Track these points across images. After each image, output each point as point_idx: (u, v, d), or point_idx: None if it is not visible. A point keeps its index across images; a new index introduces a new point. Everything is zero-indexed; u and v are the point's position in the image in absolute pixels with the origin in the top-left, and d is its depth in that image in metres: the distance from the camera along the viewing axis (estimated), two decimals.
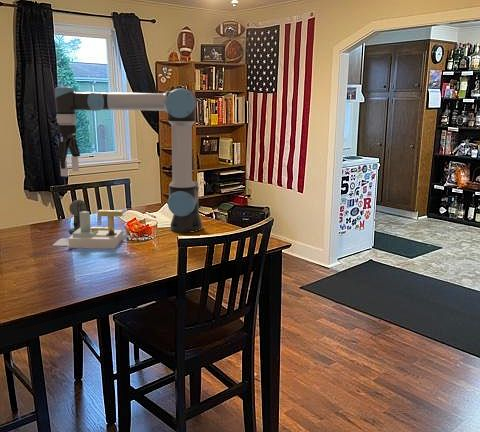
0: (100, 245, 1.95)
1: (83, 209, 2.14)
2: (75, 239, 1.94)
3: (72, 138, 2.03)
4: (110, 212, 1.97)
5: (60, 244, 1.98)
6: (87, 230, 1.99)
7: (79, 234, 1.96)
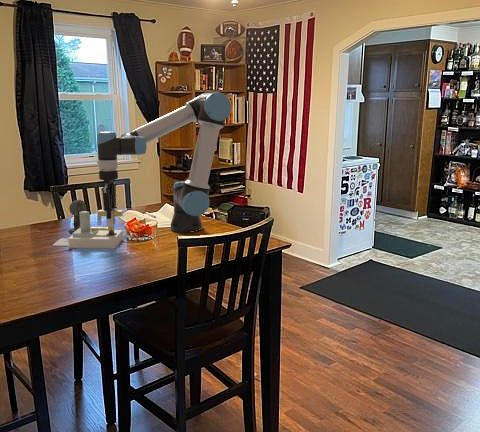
0: (100, 245, 1.95)
1: (83, 209, 2.14)
2: (75, 239, 1.94)
3: (113, 183, 1.96)
4: None
5: (60, 244, 1.98)
6: (87, 230, 1.99)
7: (79, 234, 1.96)
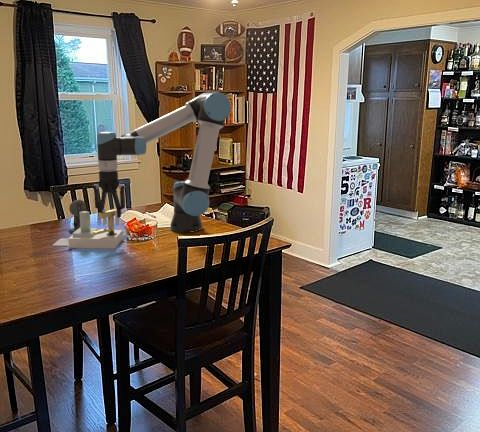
0: (100, 245, 1.95)
1: (83, 209, 2.14)
2: (75, 239, 1.94)
3: None
4: (112, 212, 1.98)
5: (60, 244, 1.98)
6: (87, 230, 1.99)
7: (79, 234, 1.96)
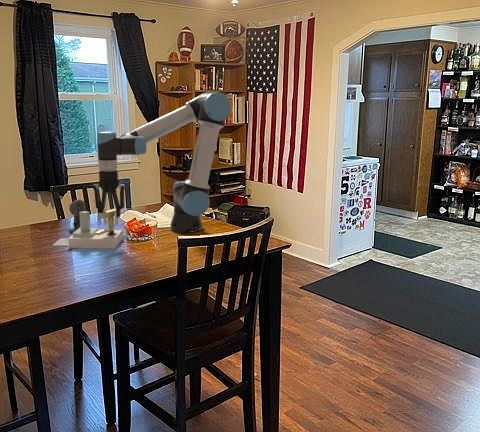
0: (100, 245, 1.95)
1: (83, 209, 2.14)
2: (75, 239, 1.94)
3: None
4: (112, 212, 1.98)
5: (60, 244, 1.98)
6: (87, 230, 1.99)
7: (79, 234, 1.96)
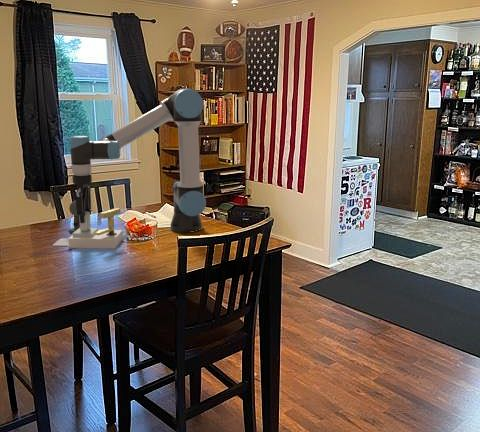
0: (100, 245, 1.95)
1: None
2: (75, 239, 1.94)
3: (87, 187, 1.97)
4: (112, 212, 1.98)
5: (60, 244, 1.98)
6: (87, 230, 1.99)
7: (79, 234, 1.96)
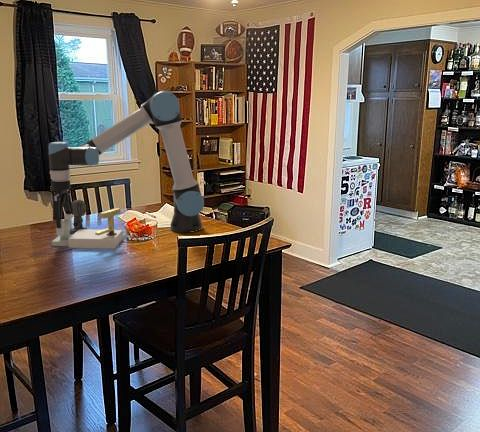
0: (100, 245, 1.95)
1: (83, 209, 2.14)
2: (75, 239, 1.94)
3: (66, 193, 1.97)
4: (112, 212, 1.98)
5: None
6: (66, 238, 2.00)
7: (58, 243, 1.97)
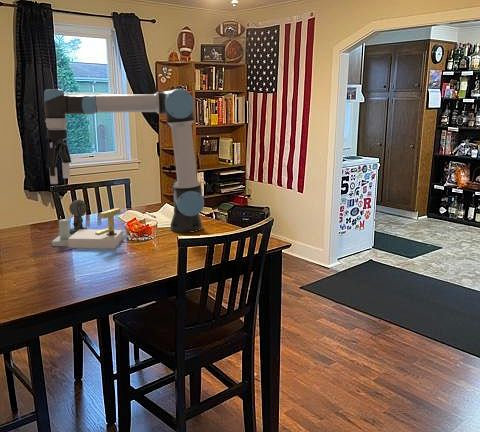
0: (100, 245, 1.95)
1: (83, 209, 2.14)
2: (75, 239, 1.94)
3: (62, 144, 1.92)
4: (112, 212, 1.98)
5: None
6: (66, 238, 2.00)
7: (58, 243, 1.97)
